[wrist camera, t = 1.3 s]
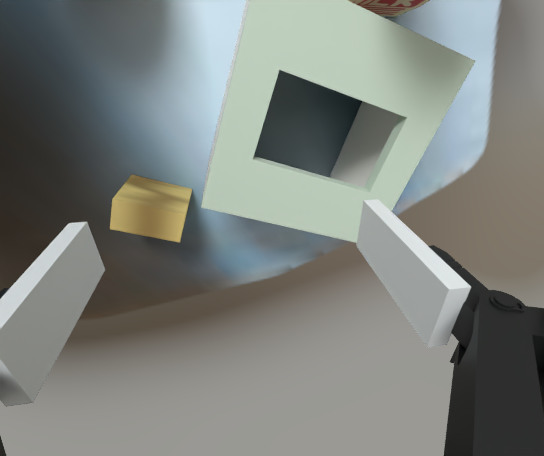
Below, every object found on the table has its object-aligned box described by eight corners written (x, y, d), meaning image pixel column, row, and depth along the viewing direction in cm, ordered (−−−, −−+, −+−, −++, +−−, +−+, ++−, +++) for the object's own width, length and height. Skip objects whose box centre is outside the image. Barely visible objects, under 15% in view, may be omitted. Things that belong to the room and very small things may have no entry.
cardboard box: (128, 200, 31) (109, 229, 26) (131, 174, 30) (112, 198, 25) (186, 213, 33) (179, 242, 28) (192, 188, 32) (185, 214, 26)
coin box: (208, 160, 30) (201, 207, 21) (246, -3, 24) (260, -42, 15) (331, 193, 34) (371, 246, 24) (390, 59, 28) (475, 60, 18)
